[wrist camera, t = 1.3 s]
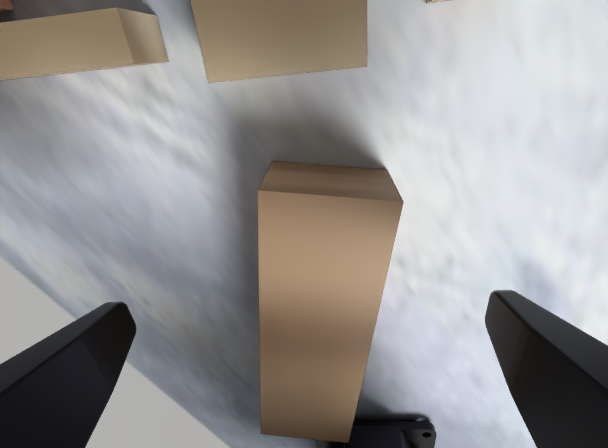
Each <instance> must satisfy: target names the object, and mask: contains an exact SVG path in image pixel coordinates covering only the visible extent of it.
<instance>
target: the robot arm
mask: <svg viewBox="0 0 608 448" xmlns="http://www.w3.org/2000/svg"><path fill="white" fill-rule="evenodd" d="M485 324H486V328H487V331H488V334H489V336H490V339H491V342H492V345H493V347H494V350H495V353H496V356H497V358H498V361H499V364H500V366H501V369H502V372H503V375H504V377H505V380H506V383H507V385H508V388H509V390H510V393H511V395H512V397H513V399H514V401H515V404H516V406H517V408H518V410H519V412H520V414H521V416H522V418H523V420H524V422H525V424H526V426H527V428H528V430H529V432H530V434H531V436H532V438H533V440H534V442H535V444H536V446H537V448H608V345H606V344H604V343H602V342H601V341H599V340H597V339H595V338H594V337H592V336H590V335H589V334H587V333H585V332H583V331H582V330H580V329H578V328H577V327H575V326H573V325H571V324H570V323H568V322H566V321H565V320H563V319H561V318H559V317H558V316H556V315H554V314H553V313H551V312H549V311H547V310H546V309H544V308H542V307H541V306H539V305H537V304H535V303H534V302H532V301H530V300H529V299H527V298H525V297H523V296H522V295H520V294H518V293H517V292H515V291H512V290H495V291H493V292H492V293H491V294H490V297H489V302H488V306H487V311H486V315H485ZM135 334H136V324H135V321H134V319H133V317H132V315H131V313H130V311H129V309H128V307H127V305H126V304H125V303H124V302H108V303H105V304H103V305H102V306H100V307H98V308H96V309H95V310H93V311H91V312H90V313H88V314H86V315H84V316H83V317H81V318H79V319H78V320H76V321H74V322H72V323H71V324H69V325H67V326H66V327H64V328H62V329H60V330H59V331H57V332H55V333H54V334H52V335H50V336H48V337H47V338H45V339H43V340H42V341H40V342H38V343H36V344H35V345H33V346H31V347H30V348H28V349H26V350H24V351H23V352H21V353H19V354H17V355H16V356H14V357H12V358H10V359H9V360H7V361H5V362H4V363H2V364H0V448H85V447H86V445H87V442H88V441H89V439H90V437H91V435H92V432H93V430H94V429H95V427H96V425H97V422H98V421H99V418H100V417H101V414H102V413H103V411H104V409H105V407H106V405H107V403H108V401H109V398H110V396H111V394H112V392H113V390H114V387H115V385H116V383H117V380H118V378H119V375H120V373H121V370H122V367H123V365H124V362H125V360H126V357H127V355H128V352H129V350H130V347H131V344H132V342H133V339H134V337H135ZM435 439H436V432H435V428H434V425H433V424H432V423H429V422H390V421H353V425H352V429H351V434H350V438H349V442H348V443H346V442H336V441H326V440H317V447H318V448H434V445H435Z"/></svg>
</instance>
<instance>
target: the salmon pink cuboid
mask: <svg viewBox="0 0 608 448" xmlns="http://www.w3.org/2000/svg"><path fill="white" fill-rule="evenodd" d="M6 10H14V8H13V6H12V3H11V1H10V0H0V11H6Z"/></svg>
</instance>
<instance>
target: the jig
mask: <svg viewBox="0 0 608 448" xmlns="http://www.w3.org/2000/svg"><path fill="white" fill-rule="evenodd" d="M190 1H191V6H192V10H193V15H194V19H195V24H196V29H197V33H198V38H199V42H200V47H201V51H202V56H203V61H204V65H205V70H206V74H207V79H208V83H212V82H222V81H231V80H241V79H251V78H260V77H270V76H280V75H289V74H299V73H309V72H319V71H328V70H338V69H348V68H357V67H367V0H190ZM442 1H450V0H426V3H434V2H442ZM162 62H169V61H168V57H167V53H166V49H165V46H164V42H163V38H162V34H161V30H160V27H159V23H158V19H157V15H152V14H147V13H142V12H137V11H132V10H127V9H122V8H118V7H115V8H107V9H100V10H92V11H84V12H77V13H69V14H62V15H54V16H47V17H39V18H32V19H24V20H17V21H9V22H2V23H0V81H1V80H10V79H19V78H28V77H37V76H46V75H55V74H64V73H73V72H82V71H91V70H99V69H108V68H117V67H126V66H135V65H144V64H153V63H162Z"/></svg>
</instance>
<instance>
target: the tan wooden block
mask: <svg viewBox="0 0 608 448" xmlns="http://www.w3.org/2000/svg"><path fill="white" fill-rule="evenodd" d="M402 206H403V200H402V198H401V196H400V194H399V192H398V190H397V188H396V186H395V184H394V182H393V180H392V178H391V176H390V174H389V172H388V170H384V169H371V168H358V167H345V166H332V165H319V164H306V163H293V162H280V161H272V163H271V165H270V167H269V169H268V171H267V173H266V175H265V177H264V179H263V181H262V183H261V185H260V187H259V189H258V259H259V338H260V417H261V434H267V435H277V436H286V437H296V438H306V439H316V440H326V441H336V442H346V443H348V442H349V438H350V434H351V429H352V425H353V421H354V416H355V412H356V407H357V403H358V399H359V394H360V390H361V386H362V381H363V377H364V372H365V368H366V364H367V359H368V355H369V351H370V346H371V342H372V337H373V333H374V329H375V324H376V320H377V316H378V311H379V307H380V302H381V298H382V294H383V289H384V285H385V281H386V276H387V272H388V267H389V263H390V259H391V254H392V250H393V246H394V241H395V237H396V232H397V228H398V224H399V219H400V215H401V211H402Z"/></svg>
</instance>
